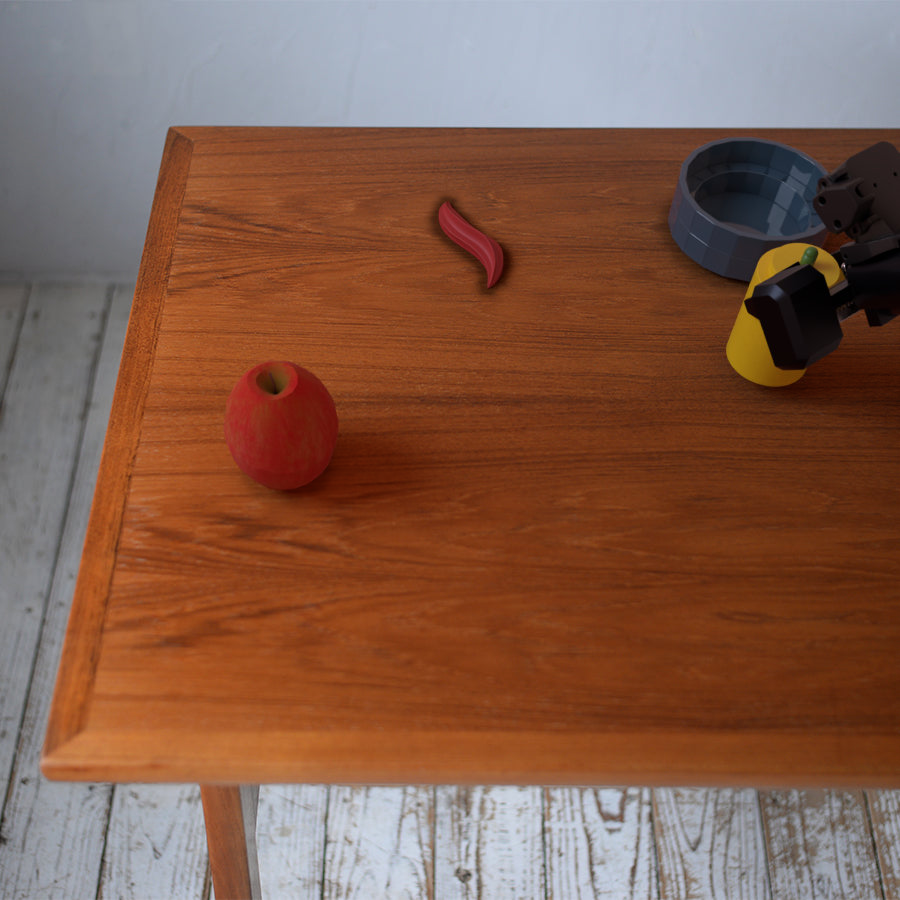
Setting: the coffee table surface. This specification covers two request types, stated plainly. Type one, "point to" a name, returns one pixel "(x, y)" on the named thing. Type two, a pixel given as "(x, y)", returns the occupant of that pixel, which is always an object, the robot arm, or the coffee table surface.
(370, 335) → the coffee table surface
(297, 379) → the apple
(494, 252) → the cayenne pepper
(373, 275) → the coffee table surface
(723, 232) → the bowl
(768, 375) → the pepper
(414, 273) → the coffee table surface
